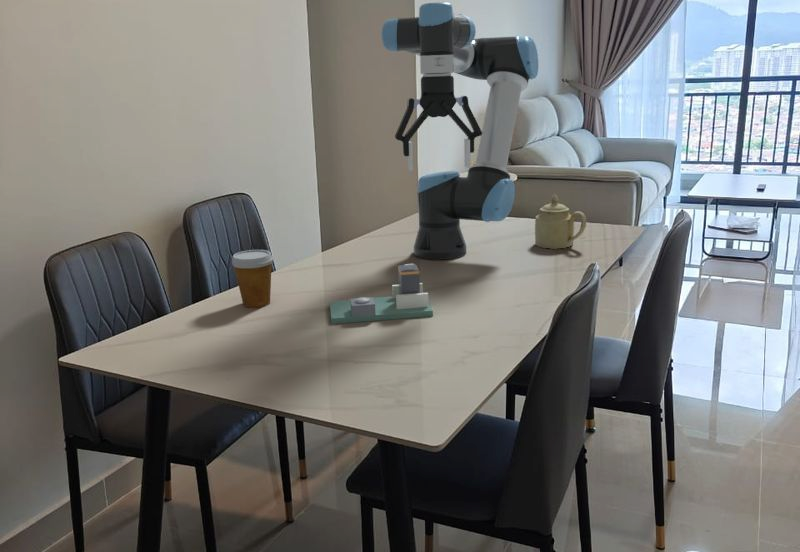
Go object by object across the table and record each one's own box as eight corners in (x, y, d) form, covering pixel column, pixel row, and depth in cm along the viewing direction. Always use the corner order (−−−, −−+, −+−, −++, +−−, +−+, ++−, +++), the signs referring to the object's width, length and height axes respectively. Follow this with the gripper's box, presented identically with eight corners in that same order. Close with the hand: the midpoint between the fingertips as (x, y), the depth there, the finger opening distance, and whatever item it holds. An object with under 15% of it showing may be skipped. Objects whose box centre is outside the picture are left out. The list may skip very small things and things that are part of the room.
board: (329, 306, 164) (328, 288, 163) (424, 298, 167) (423, 281, 165) (331, 323, 153) (330, 305, 152) (433, 315, 155) (432, 297, 154)
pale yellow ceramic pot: (588, 241, 212) (590, 191, 208) (584, 251, 202) (586, 198, 198) (538, 239, 217) (539, 190, 213) (531, 248, 207) (532, 197, 203)
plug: (399, 299, 163) (397, 260, 160) (417, 297, 164) (415, 258, 161) (402, 306, 158) (400, 266, 156) (420, 304, 159) (419, 264, 156)
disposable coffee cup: (284, 298, 171) (280, 250, 167) (264, 311, 162) (259, 260, 159) (249, 296, 174) (244, 248, 170) (228, 308, 165) (222, 258, 162)
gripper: (384, 77, 158) (388, 173, 164) (494, 73, 160) (494, 167, 166) (381, 77, 165) (385, 169, 171) (486, 72, 168) (487, 163, 174)
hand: (439, 168), depth 169 cm, fingers open, 13 cm apart
